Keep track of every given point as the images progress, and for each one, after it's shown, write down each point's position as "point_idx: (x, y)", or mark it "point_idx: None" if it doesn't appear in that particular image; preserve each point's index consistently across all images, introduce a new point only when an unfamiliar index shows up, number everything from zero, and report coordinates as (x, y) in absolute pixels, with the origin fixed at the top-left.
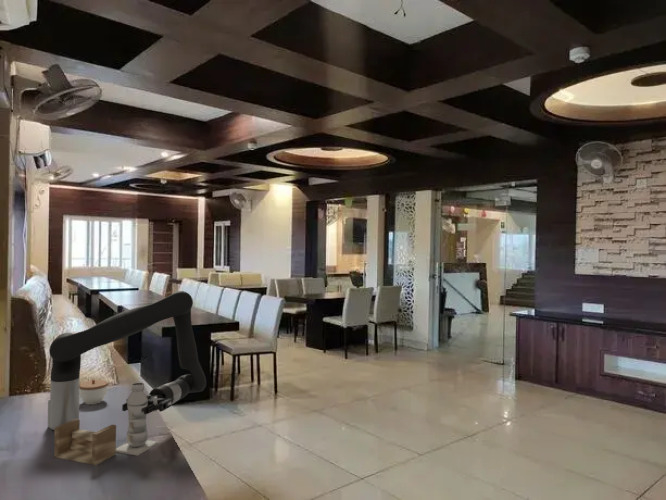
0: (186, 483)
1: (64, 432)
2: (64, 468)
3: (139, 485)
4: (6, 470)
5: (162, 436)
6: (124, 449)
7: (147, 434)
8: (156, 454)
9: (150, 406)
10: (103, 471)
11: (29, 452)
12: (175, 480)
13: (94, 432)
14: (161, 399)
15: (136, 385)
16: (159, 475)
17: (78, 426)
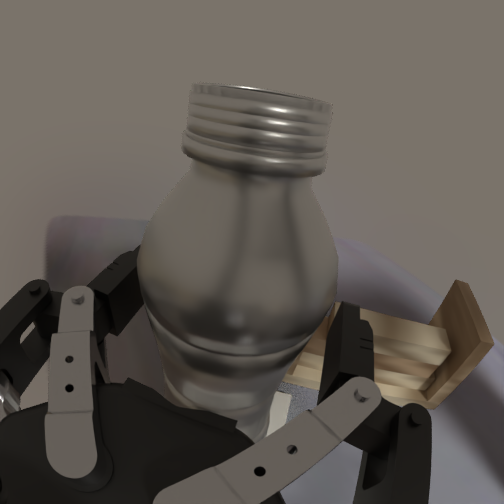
0: (58, 235)
1: (450, 311)
2: (352, 303)
3: (142, 238)
4: (441, 297)
5: None
6: None
7: None
8: (116, 367)
9: (117, 270)
10: None
11: (486, 361)
12: (74, 244)
13: (379, 330)
14: (15, 414)
15: (306, 134)
16: (103, 261)
17: (464, 356)
